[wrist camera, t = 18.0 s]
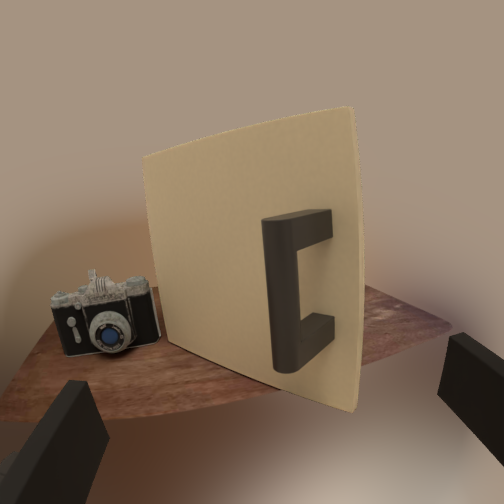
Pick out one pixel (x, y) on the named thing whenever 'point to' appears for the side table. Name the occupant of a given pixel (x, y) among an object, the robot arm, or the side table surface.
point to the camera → (106, 316)
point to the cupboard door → (265, 251)
